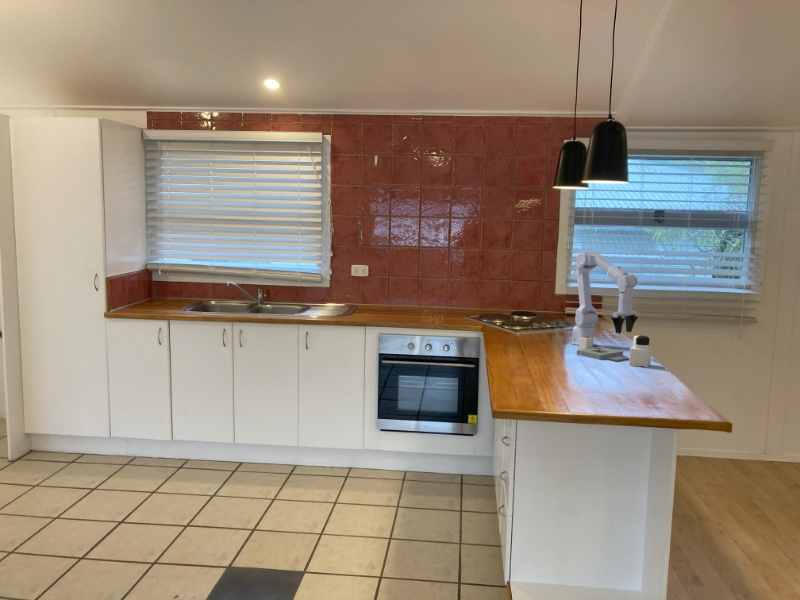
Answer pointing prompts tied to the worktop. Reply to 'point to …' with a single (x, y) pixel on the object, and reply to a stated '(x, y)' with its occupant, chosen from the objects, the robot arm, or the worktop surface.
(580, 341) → the charger
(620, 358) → the phone
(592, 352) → the plate
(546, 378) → the worktop surface
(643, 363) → the medicine bottle
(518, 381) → the worktop surface
